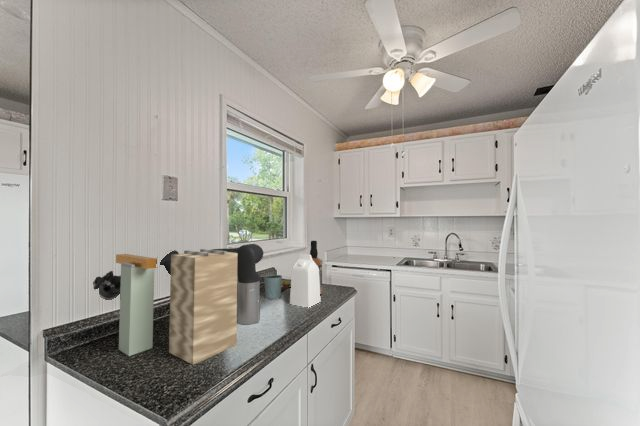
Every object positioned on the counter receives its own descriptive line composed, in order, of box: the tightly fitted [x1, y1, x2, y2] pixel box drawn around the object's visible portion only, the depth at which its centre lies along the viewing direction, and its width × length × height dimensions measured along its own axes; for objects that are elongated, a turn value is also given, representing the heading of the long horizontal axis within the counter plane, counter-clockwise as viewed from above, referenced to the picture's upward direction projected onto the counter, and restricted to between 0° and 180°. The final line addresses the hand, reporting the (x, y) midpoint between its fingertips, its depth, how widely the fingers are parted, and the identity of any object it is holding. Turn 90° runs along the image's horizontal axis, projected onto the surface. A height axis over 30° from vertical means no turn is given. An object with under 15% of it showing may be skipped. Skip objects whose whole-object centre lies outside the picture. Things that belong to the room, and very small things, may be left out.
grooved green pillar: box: [118, 263, 155, 357], centre depth 92 cm, size 8×7×29 cm
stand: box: [168, 248, 238, 365], centre depth 92 cm, size 14×16×33 cm
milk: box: [289, 253, 322, 309], centre depth 144 cm, size 12×12×26 cm
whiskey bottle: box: [309, 240, 324, 294], centre depth 163 cm, size 10×10×32 cm
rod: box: [115, 253, 158, 269], centre depth 94 cm, size 24×3×3 cm, turn 56°
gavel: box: [281, 280, 291, 293], centre depth 172 cm, size 21×5×10 cm
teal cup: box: [263, 274, 283, 300], centre depth 155 cm, size 10×10×12 cm
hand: (125, 271), depth 98 cm, fingers open, 8 cm apart
